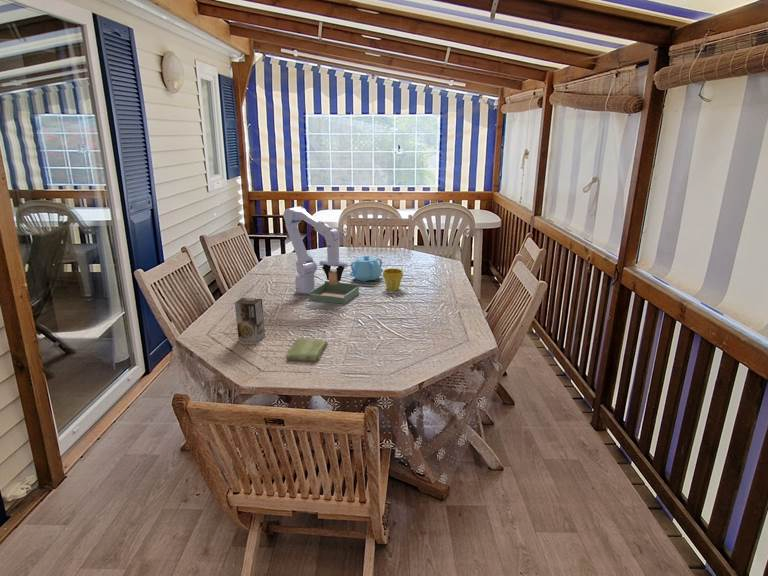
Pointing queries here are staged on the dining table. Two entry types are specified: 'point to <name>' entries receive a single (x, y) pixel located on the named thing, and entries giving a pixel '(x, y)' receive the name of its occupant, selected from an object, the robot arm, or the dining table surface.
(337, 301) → the green shallow tray
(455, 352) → the dining table surface
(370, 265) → the decorative pot
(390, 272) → the plant pot
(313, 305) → the mat
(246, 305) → the coffee box
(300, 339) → the washcloth
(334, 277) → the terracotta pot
